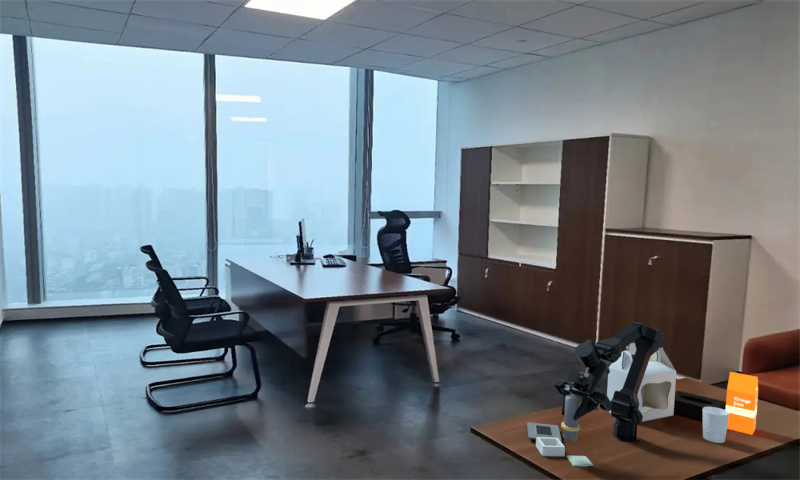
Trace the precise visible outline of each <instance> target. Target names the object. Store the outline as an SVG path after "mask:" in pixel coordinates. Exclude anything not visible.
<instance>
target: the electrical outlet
mask: <svg viewBox="0 0 800 480" xmlns="http://www.w3.org/2000/svg"><path fill="white" fill-rule="evenodd" d="M526 424H527V425H526V426H527V436H528V439H530V440H531V441H532V440H533V441H536V437H552V438H558V439H559V440H560V441H561V442H562V441H563V440H562V436H561V432H560V427H559V425H557V424H547V423H538V422H537V423H536V422H527V423H526Z"/></svg>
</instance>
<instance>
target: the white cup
mask: <svg viewBox="0 0 800 480" xmlns="http://www.w3.org/2000/svg"><path fill="white" fill-rule="evenodd" d="M728 419H729V412H728V411H726V409H723V408H720V407H715V406H704V407H702V438H703V439H704V440H707V441H708V442H710V443H715V444H723V443H726V436H727V433H728V429H727V427H728Z"/></svg>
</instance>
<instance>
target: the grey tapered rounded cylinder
mask: <svg viewBox="0 0 800 480" xmlns="http://www.w3.org/2000/svg"><path fill="white" fill-rule="evenodd" d="M579 401H580V396H577V395H566V396H565V414H564V415H563V416H564V417H563V419H564V420H563V421H562V422H561V424H560V425H561V426H560V427H561V429H563V434H562V436H563V437H562V438H563V439H564V440H565V441H567V442H568V441H569V442H576V441H577V440H578V432H579V431H581V425H580V424H579V423H578V421H579V419H577V420H574V419H573V417H574V415H575V413H576V411H577V410H578V408H579V406H580V403H579Z"/></svg>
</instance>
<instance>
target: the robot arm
mask: <svg viewBox="0 0 800 480" xmlns="http://www.w3.org/2000/svg"><path fill="white" fill-rule="evenodd" d="M663 342H664V336H663V334H662V333H661V331H660V330H657V329H653V328H652V327H649V326H648V325H646V324H645V323H640V322H636V321H631V322H629V324H628V325H627V326H626V327H624V328H623V329H621V330H620V331H619V332H618V333H616V334H615V335H614V336H612V337H610V338H603V339H601V340H599V341H598V340H597V342H596V343H595V342H594V341H593V340H590V339H587V340H586V341H585V342H582V343H580V344H578V345H577V346H576V347H575V349H574V353H575V355H576V357H577V358H578V360H579V361H580V363H581V364H582V365H583V366H584V367H585V368H584V369H583V371H579V372H577V371H574V370H571V369H569V370H568V372H567V376H566V380H564V379H560V378H556V379H554V381H553V382H552V384H551V385H552V386H553V388H554V389H555V390H556V391H557V394H559V395H561V396H563V403H562V409H561V415H562V416H564V414H565V396H566V395H574V396H577V397H579V398H581V403H580V404H579V408H578V410H577V411H576V413H575V415H574V417H573V419H574V420H577V419H578V420H579V419H580V418H582V417H584V416H585V415H587V414H589V413H591V412H593V411H598V410H599V408H600V409H601V410H602V411H605V412H607V411H608V412H607V413H609V411H610V410H611V413H610V414H611V417H612V418H615V421H614V423H613V431H612V434H613V435H614V436H615V437H616V438H617V439H618V440H619V441H621V442H622V441H625V442H628V441H629V442H639V441H640V439H639V437H637V435H638V425H641V423H643V422H642V419H643V415H642V414H641V412H640V411H639V409H638V408H639V400H638V396H637V394H638V391H639V388H640V385H641V383H642V380H643V377H644V374H645V371H646V368H647V365H648V362H649V360H650V357H651V355H653V354H654V353H655V352H657V351H658V350H659V347H660V348H661V345H662V344H663ZM631 343H635V346H636V352H635V355H633V357H632V359H633V361H632V363H631V366H630V369H629V372H628V375H627V377H626V380H625V383H624V386H623V388H622V389H621V390H620V391H615V392H614V395H613V398H612V400H611V401H610V400H609V398H608V397H607V393H606V394H605V393H603V392H599V391H597V389H600V388H601V387H602V386H601V384H600V383H601V381H602V379H603V378H604V376H605V374H609V373H610V370H609V366H610V365H609V364H606V362H607V363H611V364H612V363H614V362H616V361H617V360H618V359H619V358H620V357H621V353H622V352H623V351H624V350H625V349H626V347H627V346H628V345H630V344H631ZM568 381H570V382H571V385H572V386H571V385H570V384H569V383H568ZM598 407H599V408H598Z"/></svg>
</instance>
